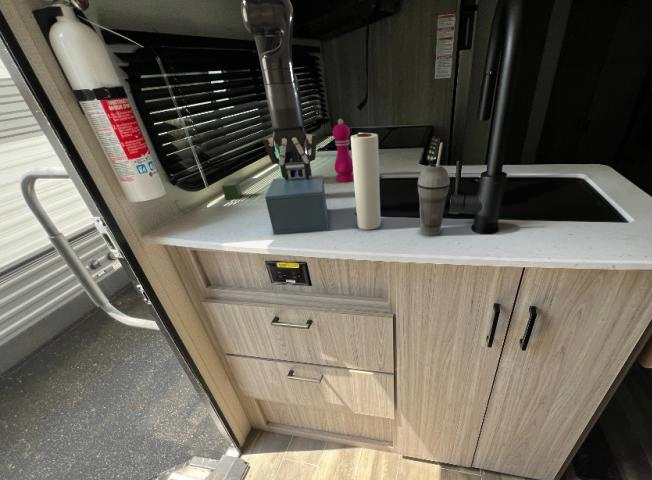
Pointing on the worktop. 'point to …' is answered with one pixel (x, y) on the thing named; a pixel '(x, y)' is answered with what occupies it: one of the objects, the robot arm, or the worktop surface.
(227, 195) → the green cube
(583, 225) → the worktop surface
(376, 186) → the paper towel roll
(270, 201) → the freezer
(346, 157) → the pepper mill
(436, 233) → the beverage cup
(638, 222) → the worktop surface
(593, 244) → the worktop surface
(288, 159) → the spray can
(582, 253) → the worktop surface
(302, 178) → the freezer lid
